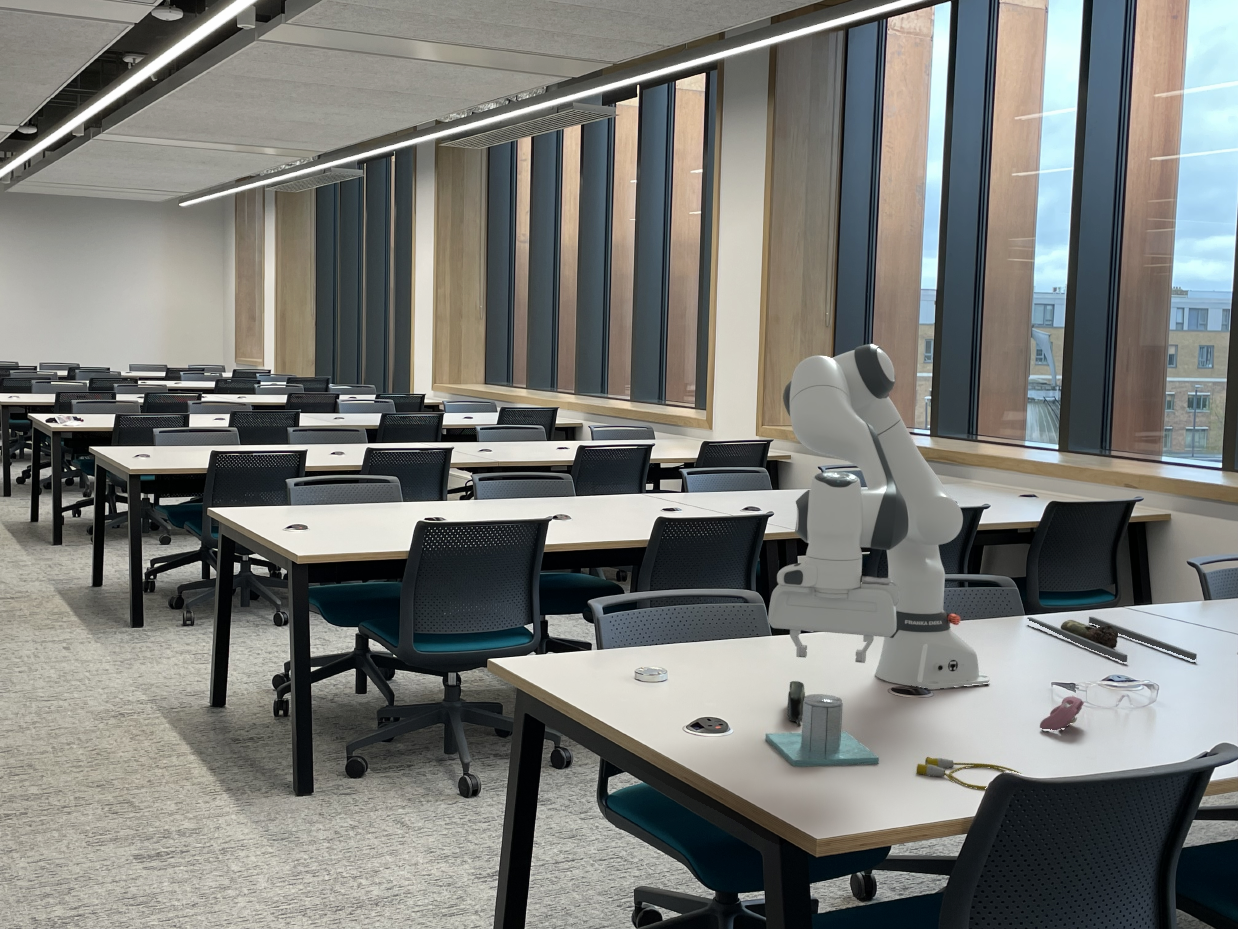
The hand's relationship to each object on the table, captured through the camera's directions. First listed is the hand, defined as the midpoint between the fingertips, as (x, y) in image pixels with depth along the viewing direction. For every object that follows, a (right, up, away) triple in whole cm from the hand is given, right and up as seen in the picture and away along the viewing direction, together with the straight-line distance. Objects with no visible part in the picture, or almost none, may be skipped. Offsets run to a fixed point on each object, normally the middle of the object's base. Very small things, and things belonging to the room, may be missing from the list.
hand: (830, 659), depth 199 cm
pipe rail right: (+89, -11, +93) cm, 129 cm away
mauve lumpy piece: (+44, -16, +20) cm, 51 cm away
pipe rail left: (+72, -10, +90) cm, 116 cm away
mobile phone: (-2, -14, +22) cm, 26 cm away
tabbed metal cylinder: (-1, -14, +3) cm, 14 cm away
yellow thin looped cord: (+21, -17, -8) cm, 28 cm away
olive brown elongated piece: (+76, -11, +89) cm, 118 cm away
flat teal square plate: (-1, -15, +2) cm, 15 cm away
